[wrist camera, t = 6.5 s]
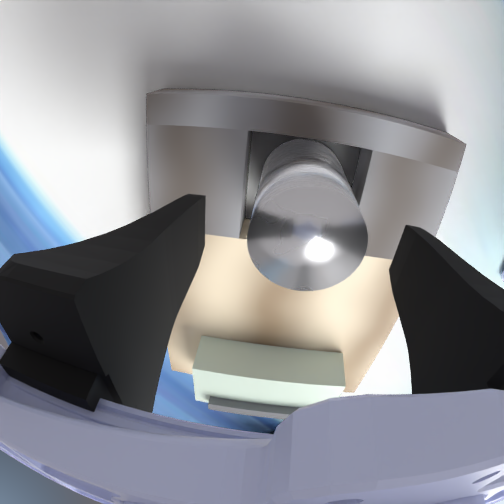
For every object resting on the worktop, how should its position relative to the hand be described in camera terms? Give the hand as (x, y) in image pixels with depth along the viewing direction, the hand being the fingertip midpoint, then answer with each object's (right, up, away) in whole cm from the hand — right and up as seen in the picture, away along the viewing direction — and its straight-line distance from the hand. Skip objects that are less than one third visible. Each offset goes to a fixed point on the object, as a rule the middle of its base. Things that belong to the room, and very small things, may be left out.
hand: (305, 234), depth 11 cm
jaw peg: (+1, +3, +4) cm, 5 cm away
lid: (-1, -8, +9) cm, 12 cm away
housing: (0, -2, +7) cm, 8 cm away
